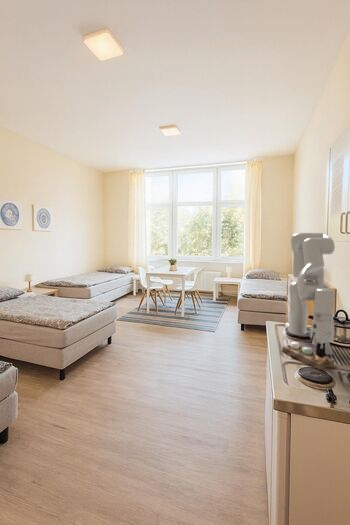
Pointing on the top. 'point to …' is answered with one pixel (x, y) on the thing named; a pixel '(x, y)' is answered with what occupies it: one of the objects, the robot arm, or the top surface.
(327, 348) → the flask
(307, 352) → the button
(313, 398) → the top surface
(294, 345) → the button
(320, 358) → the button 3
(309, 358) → the panel
